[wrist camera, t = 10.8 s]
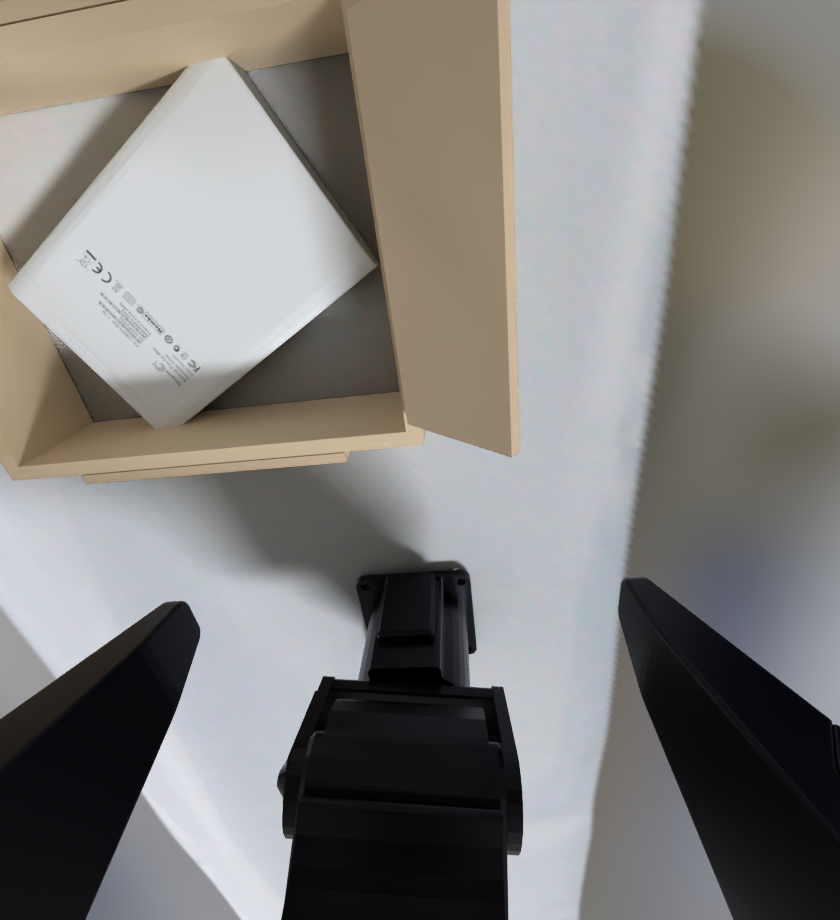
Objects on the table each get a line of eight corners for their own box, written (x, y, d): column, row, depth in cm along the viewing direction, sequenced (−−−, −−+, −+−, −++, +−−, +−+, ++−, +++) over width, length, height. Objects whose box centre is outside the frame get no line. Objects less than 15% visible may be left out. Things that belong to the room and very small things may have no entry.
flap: (346, 11, 11) (358, 13, 11) (407, 424, 16) (415, 420, 16) (494, -92, 8) (508, -85, 8) (511, 457, 13) (519, 451, 13)
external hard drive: (381, 263, 18) (182, 426, 22) (230, 48, 15) (32, 279, 19) (376, 267, 17) (163, 440, 21) (208, 31, 14) (-2, 285, 18)
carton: (429, 410, 21) (425, 455, 17) (92, 442, 23) (18, 489, 19) (379, 3, 15) (354, -74, 11) (-89, 93, 16) (-259, 55, 12)
